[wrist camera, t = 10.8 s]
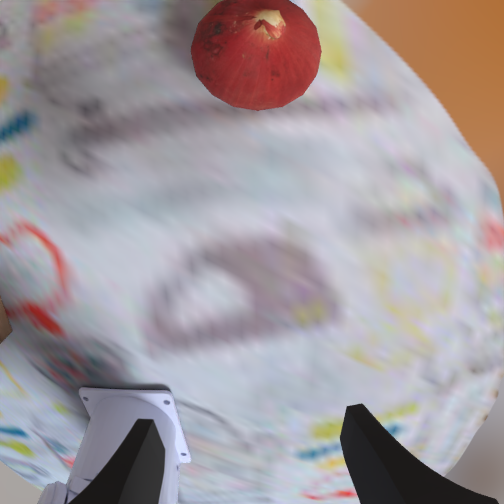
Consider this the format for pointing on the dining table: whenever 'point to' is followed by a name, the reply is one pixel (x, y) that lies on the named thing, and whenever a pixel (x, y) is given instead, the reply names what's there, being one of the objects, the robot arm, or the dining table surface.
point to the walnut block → (4, 323)
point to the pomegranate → (256, 52)
